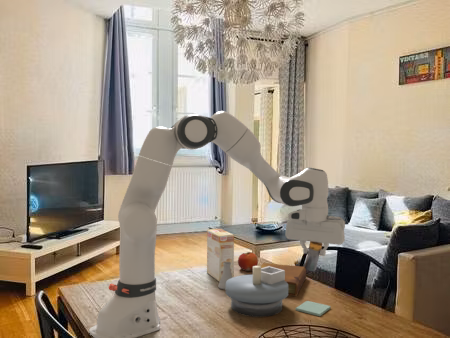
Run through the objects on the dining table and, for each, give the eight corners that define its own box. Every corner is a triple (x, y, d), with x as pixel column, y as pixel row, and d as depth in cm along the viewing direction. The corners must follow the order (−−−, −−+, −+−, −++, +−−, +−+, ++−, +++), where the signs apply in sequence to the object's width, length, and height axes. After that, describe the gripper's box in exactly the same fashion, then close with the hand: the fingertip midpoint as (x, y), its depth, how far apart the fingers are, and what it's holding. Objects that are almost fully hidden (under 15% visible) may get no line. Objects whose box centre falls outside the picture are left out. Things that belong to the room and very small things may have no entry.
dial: (258, 308, 140) (258, 280, 140) (212, 291, 156) (212, 266, 156) (301, 292, 155) (301, 267, 155) (255, 278, 171) (255, 255, 171)
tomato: (260, 271, 199) (261, 254, 199) (241, 273, 197) (241, 255, 196) (253, 266, 208) (254, 249, 208) (235, 267, 206) (235, 250, 205)
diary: (297, 297, 168) (297, 282, 167) (249, 292, 174) (249, 277, 173) (305, 279, 189) (306, 266, 189) (263, 275, 195) (263, 262, 195)
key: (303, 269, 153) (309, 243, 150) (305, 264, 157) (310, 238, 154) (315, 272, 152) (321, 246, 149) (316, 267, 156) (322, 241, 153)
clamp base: (265, 321, 144) (265, 306, 143) (220, 308, 154) (221, 294, 154) (291, 305, 158) (291, 291, 158) (249, 294, 169) (249, 281, 168)
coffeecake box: (234, 280, 186) (234, 234, 185) (218, 282, 184) (218, 235, 183) (221, 270, 200) (221, 228, 199) (206, 272, 198) (206, 229, 196)
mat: (319, 316, 148) (319, 314, 148) (295, 310, 153) (295, 307, 153) (330, 308, 155) (330, 306, 155) (307, 302, 160) (307, 300, 160)
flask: (234, 290, 173) (234, 265, 173) (216, 289, 175) (216, 264, 174) (237, 285, 180) (237, 261, 180) (219, 283, 182) (220, 259, 181)
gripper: (347, 215, 150) (346, 256, 151) (290, 211, 160) (289, 249, 161) (342, 218, 145) (342, 260, 145) (284, 213, 154) (283, 252, 155)
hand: (314, 254), depth 153 cm, fingers closed on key, 4 cm apart
